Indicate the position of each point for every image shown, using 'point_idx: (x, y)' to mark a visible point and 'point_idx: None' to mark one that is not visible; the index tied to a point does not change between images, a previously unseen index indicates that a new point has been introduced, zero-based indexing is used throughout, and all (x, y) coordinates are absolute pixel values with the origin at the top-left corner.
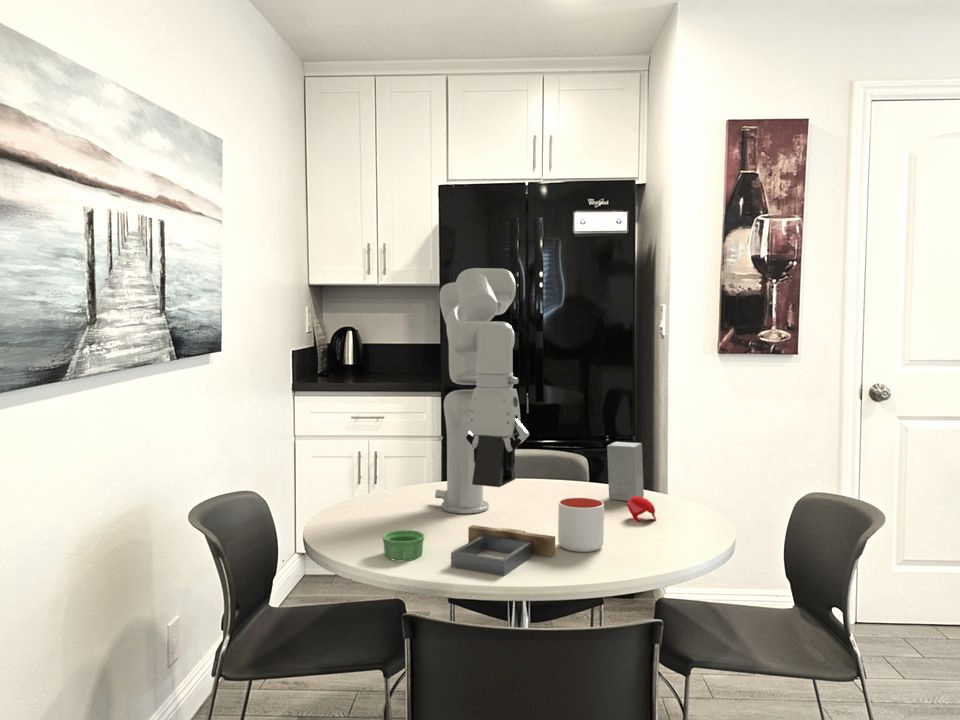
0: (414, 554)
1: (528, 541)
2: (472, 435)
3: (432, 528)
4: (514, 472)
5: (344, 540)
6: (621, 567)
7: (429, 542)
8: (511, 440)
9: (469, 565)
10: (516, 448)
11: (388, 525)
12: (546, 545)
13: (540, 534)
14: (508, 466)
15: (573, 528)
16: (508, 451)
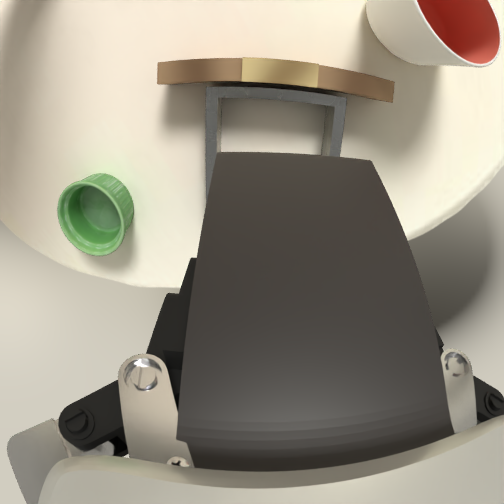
0: (130, 221)
1: (335, 100)
2: (103, 453)
3: (60, 41)
4: (380, 181)
5: (9, 189)
6: (476, 131)
7: (95, 115)
8: (451, 415)
9: None
10: (461, 357)
11: (4, 85)
12: (373, 98)
13: (359, 73)
14: None
15: (432, 61)
16: None
